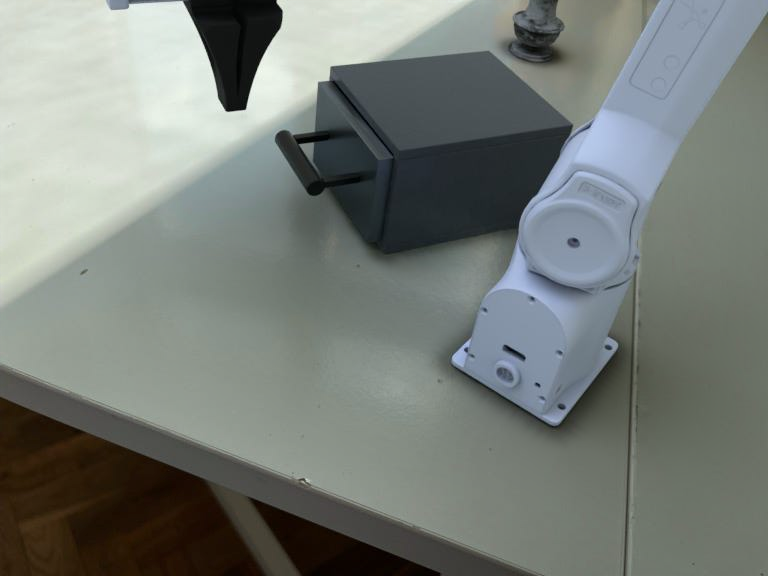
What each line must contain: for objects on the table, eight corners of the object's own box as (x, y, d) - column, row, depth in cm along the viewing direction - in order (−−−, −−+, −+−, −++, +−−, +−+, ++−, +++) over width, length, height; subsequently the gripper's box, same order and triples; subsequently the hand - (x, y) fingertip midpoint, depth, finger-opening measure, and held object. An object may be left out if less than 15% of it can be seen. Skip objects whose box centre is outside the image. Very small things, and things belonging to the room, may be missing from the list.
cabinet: (384, 254, 59) (399, 150, 53) (322, 164, 67) (330, 65, 61) (543, 221, 65) (574, 124, 59) (469, 142, 73) (489, 50, 67)
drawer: (314, 253, 57) (321, 168, 52) (264, 168, 64) (265, 87, 59) (519, 213, 63) (541, 134, 59) (452, 140, 71) (467, 65, 66)
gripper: (324, -136, 49) (312, 66, 58) (79, -138, 43) (108, 86, 52) (370, -100, 44) (349, 113, 53) (103, -97, 39) (130, 141, 48)
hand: (232, 103), depth 52 cm, fingers closed
